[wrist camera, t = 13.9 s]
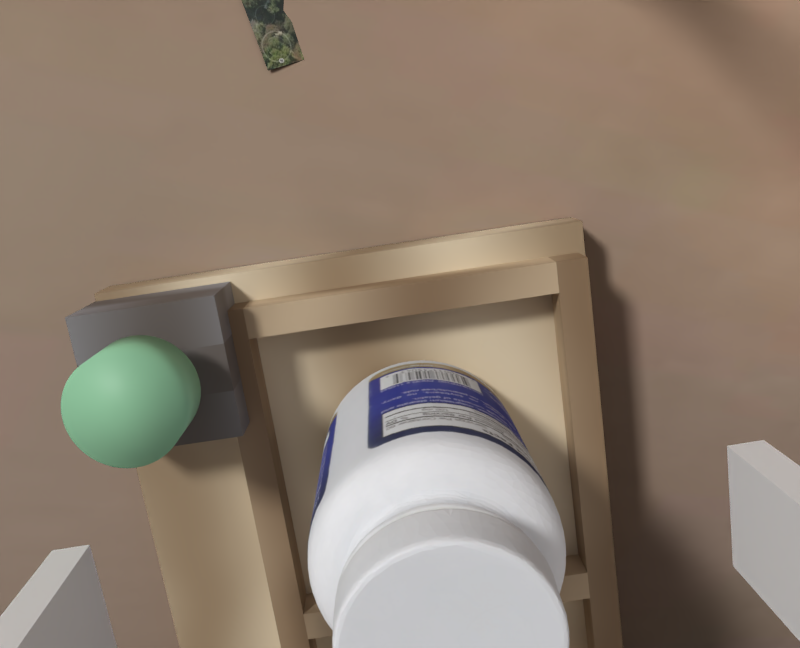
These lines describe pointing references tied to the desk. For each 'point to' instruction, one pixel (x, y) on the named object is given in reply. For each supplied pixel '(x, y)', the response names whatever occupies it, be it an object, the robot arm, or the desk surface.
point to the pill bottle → (434, 520)
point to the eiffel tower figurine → (273, 32)
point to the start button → (131, 401)
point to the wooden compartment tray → (328, 385)
